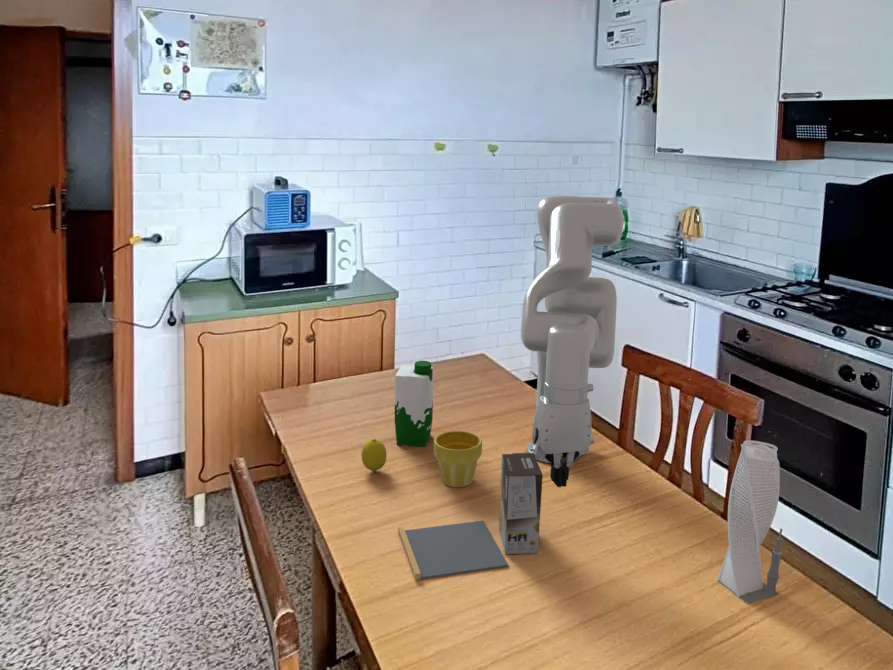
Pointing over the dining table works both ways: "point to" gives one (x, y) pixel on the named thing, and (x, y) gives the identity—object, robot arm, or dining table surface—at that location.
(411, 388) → the milk carton
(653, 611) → the dining table surface
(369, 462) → the lemon
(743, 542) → the skyscraper
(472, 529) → the mat
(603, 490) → the dining table surface
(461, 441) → the plant pot
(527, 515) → the coffee box
